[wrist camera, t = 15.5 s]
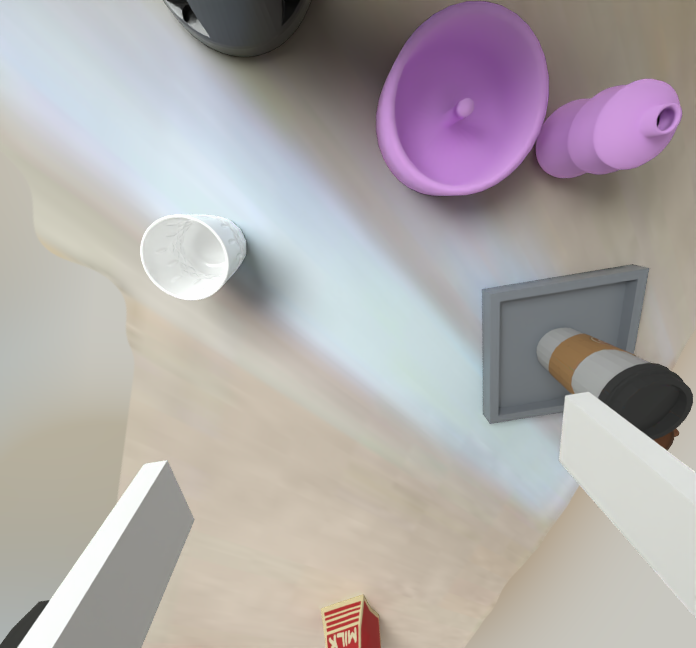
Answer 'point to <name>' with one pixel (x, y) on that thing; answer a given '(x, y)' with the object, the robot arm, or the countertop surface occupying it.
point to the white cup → (192, 254)
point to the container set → (504, 109)
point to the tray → (543, 316)
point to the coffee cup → (617, 380)
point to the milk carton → (351, 624)
